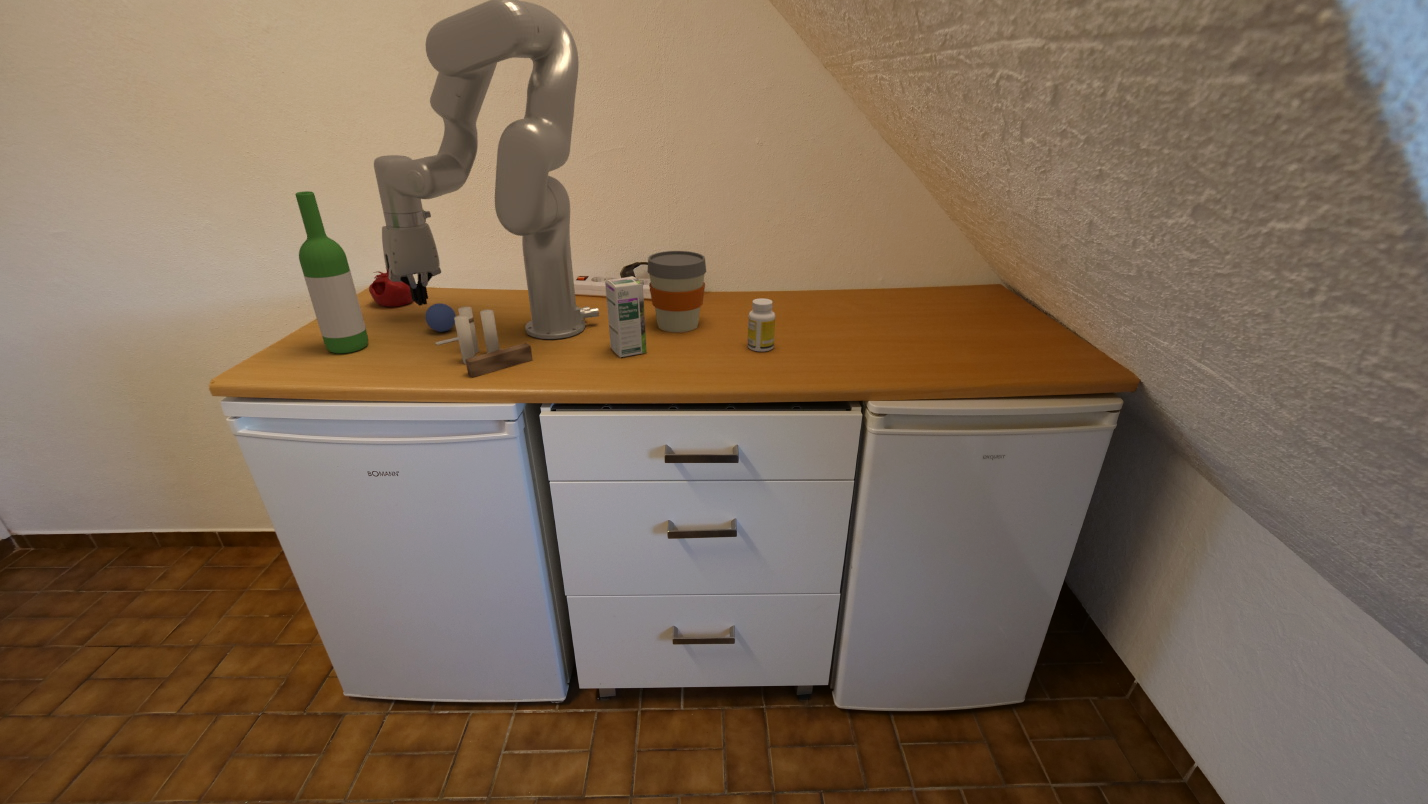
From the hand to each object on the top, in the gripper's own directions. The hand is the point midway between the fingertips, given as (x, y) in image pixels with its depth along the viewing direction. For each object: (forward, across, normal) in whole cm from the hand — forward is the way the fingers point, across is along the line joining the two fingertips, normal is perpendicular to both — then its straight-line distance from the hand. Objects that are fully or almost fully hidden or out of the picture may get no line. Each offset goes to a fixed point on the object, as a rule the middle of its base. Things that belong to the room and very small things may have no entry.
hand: (421, 303), depth 139 cm
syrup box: (+3, -24, +45) cm, 51 cm away
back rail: (+3, -2, +36) cm, 36 cm away
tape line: (+3, 0, +17) cm, 17 cm away
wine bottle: (+4, +17, +7) cm, 19 cm away
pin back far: (+3, +2, +30) cm, 30 cm away
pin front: (+3, 0, +25) cm, 25 cm away
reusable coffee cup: (+2, -41, +40) cm, 57 cm away
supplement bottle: (+2, -46, +61) cm, 76 cm away
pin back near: (+3, -3, +30) cm, 30 cm away
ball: (0, 0, +10) cm, 10 cm away
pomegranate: (+4, +1, -16) cm, 16 cm away
